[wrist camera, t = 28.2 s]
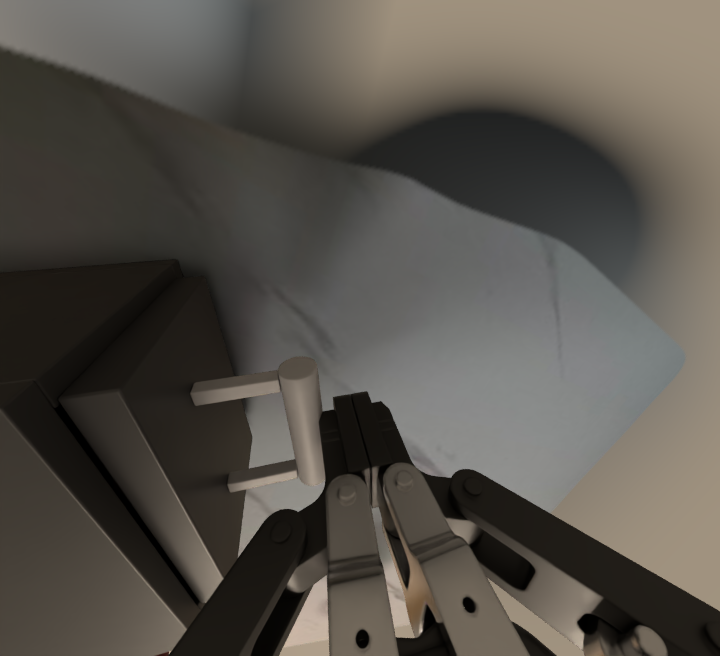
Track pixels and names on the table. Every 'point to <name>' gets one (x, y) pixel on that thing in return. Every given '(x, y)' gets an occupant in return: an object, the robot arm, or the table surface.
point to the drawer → (189, 429)
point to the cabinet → (73, 478)
